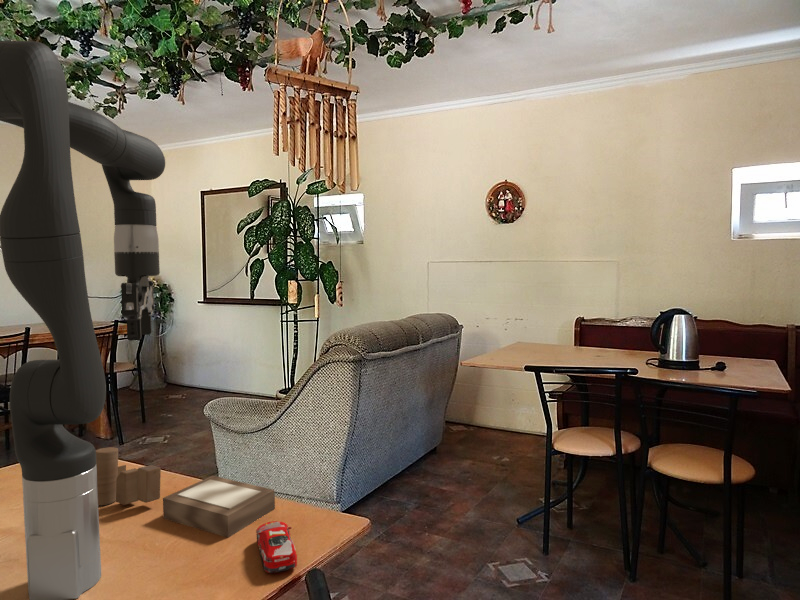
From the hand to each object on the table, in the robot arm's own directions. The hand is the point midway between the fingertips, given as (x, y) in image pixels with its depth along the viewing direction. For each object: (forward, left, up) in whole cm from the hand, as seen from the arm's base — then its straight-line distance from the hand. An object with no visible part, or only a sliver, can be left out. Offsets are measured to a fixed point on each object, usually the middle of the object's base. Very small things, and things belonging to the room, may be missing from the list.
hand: (140, 337), depth 104 cm
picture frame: (-6, -14, -33) cm, 36 cm away
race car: (-20, -23, -35) cm, 46 cm away
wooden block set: (+5, +6, -33) cm, 34 cm away
